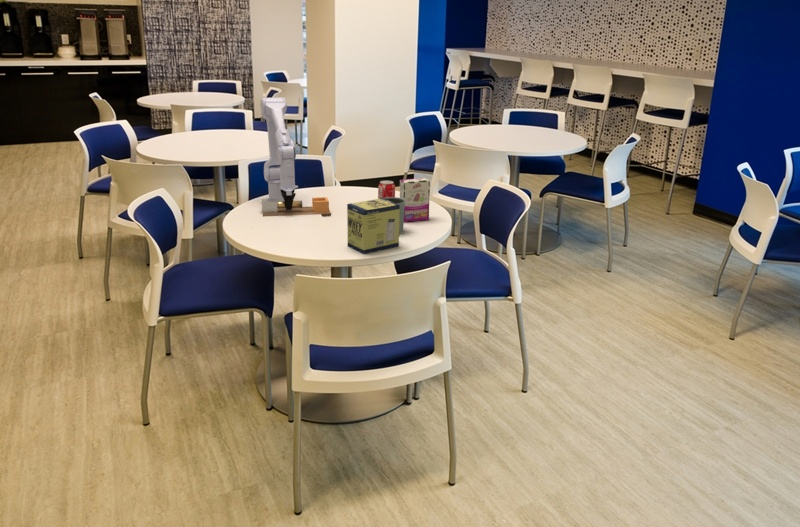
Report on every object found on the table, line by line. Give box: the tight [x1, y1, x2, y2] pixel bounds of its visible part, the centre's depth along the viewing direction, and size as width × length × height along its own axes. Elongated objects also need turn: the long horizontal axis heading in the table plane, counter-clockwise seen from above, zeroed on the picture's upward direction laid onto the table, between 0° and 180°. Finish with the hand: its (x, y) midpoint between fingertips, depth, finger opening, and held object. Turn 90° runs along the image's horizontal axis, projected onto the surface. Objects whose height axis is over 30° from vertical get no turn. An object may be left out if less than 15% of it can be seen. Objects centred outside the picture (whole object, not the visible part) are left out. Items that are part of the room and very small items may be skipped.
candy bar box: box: [399, 177, 431, 223], centre depth 269 cm, size 11×5×16 cm, turn 112°
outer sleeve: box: [261, 198, 278, 215], centre depth 274 cm, size 5×6×5 cm
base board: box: [262, 206, 332, 217], centre depth 277 cm, size 12×27×1 cm, turn 103°
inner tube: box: [277, 200, 303, 208], centre depth 274 cm, size 4×16×4 cm, turn 102°
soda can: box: [377, 180, 396, 199], centre depth 283 cm, size 7×7×12 cm
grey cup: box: [383, 196, 405, 234], centre depth 255 cm, size 10×10×12 cm
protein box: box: [346, 198, 400, 255], centre depth 237 cm, size 10×16×16 cm
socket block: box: [311, 196, 330, 213], centre depth 278 cm, size 7×6×4 cm
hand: (288, 208), depth 276 cm, fingers closed on inner tube, 4 cm apart
